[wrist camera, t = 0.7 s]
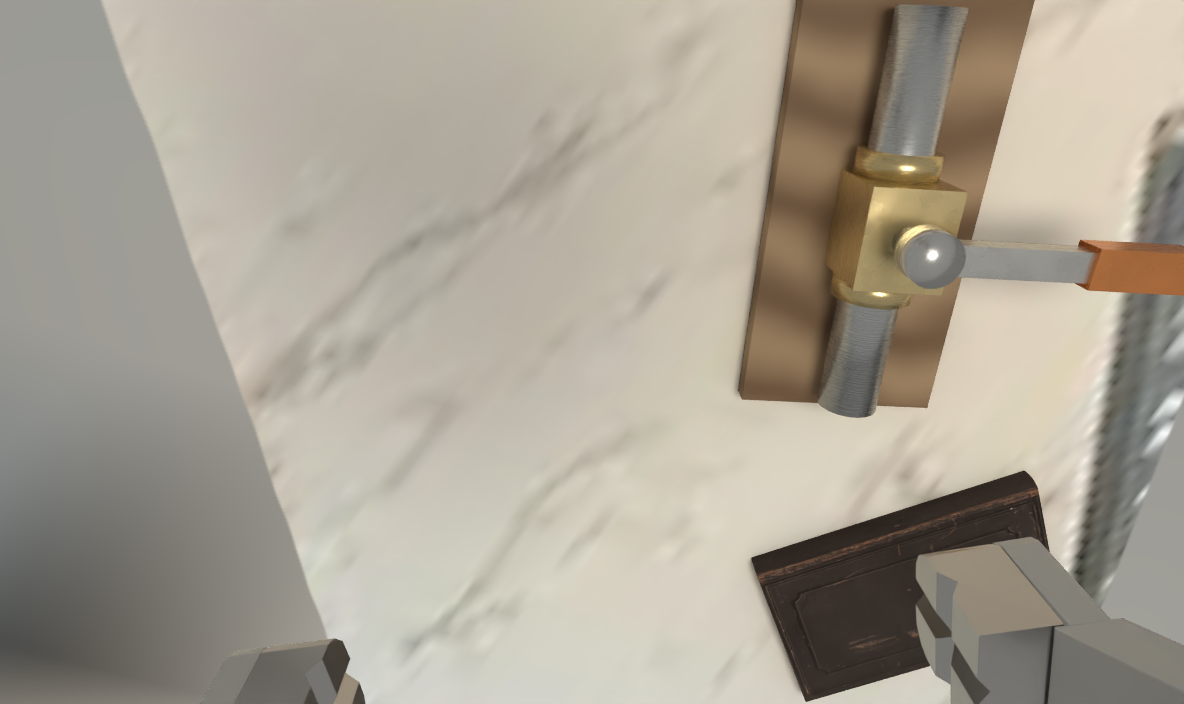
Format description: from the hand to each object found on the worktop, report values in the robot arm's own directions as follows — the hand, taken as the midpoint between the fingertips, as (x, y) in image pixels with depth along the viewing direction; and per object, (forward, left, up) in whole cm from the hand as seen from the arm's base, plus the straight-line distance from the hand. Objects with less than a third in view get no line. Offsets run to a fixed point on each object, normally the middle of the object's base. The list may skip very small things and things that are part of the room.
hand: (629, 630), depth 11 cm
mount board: (+3, +19, -44) cm, 48 cm away
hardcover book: (+35, +29, -44) cm, 64 cm away
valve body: (+3, +19, -44) cm, 48 cm away
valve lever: (+3, +26, -34) cm, 43 cm away
